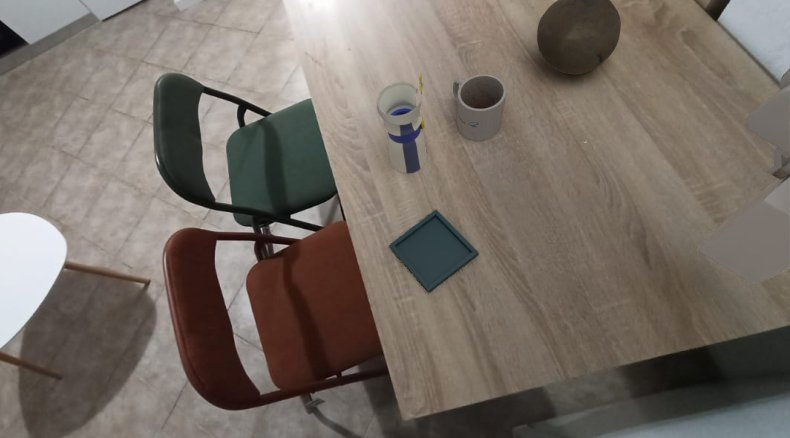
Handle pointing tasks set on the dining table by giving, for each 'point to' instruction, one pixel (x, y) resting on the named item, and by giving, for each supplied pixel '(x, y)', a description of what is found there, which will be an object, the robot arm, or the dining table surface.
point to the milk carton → (755, 236)
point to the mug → (479, 106)
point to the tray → (433, 250)
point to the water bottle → (403, 126)
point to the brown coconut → (578, 34)
